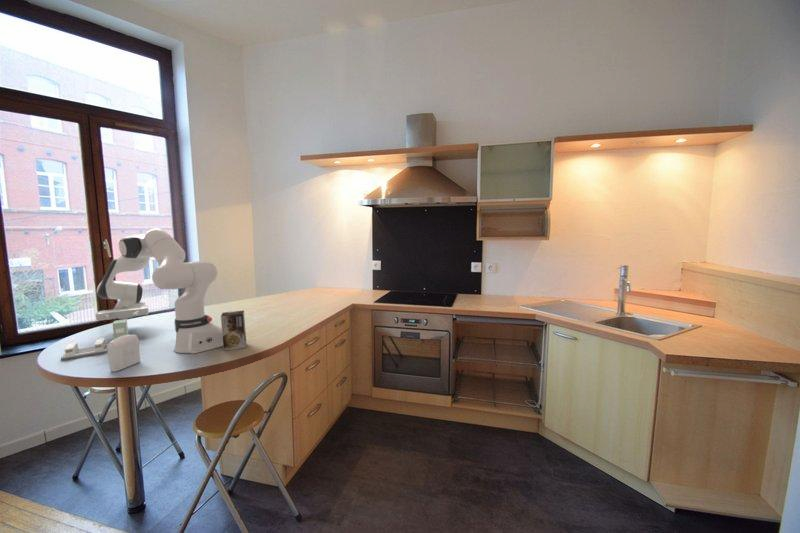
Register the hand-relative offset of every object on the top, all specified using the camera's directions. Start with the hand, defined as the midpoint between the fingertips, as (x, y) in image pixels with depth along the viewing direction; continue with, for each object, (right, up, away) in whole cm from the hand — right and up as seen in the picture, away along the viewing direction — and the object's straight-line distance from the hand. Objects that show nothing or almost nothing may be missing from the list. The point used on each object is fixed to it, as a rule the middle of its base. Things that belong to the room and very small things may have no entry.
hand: (122, 316), depth 157 cm
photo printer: (+27, -15, -30) cm, 43 cm away
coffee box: (+60, -13, -10) cm, 62 cm away
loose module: (+8, -13, -8) cm, 17 cm away
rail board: (-2, -14, -15) cm, 21 cm away
